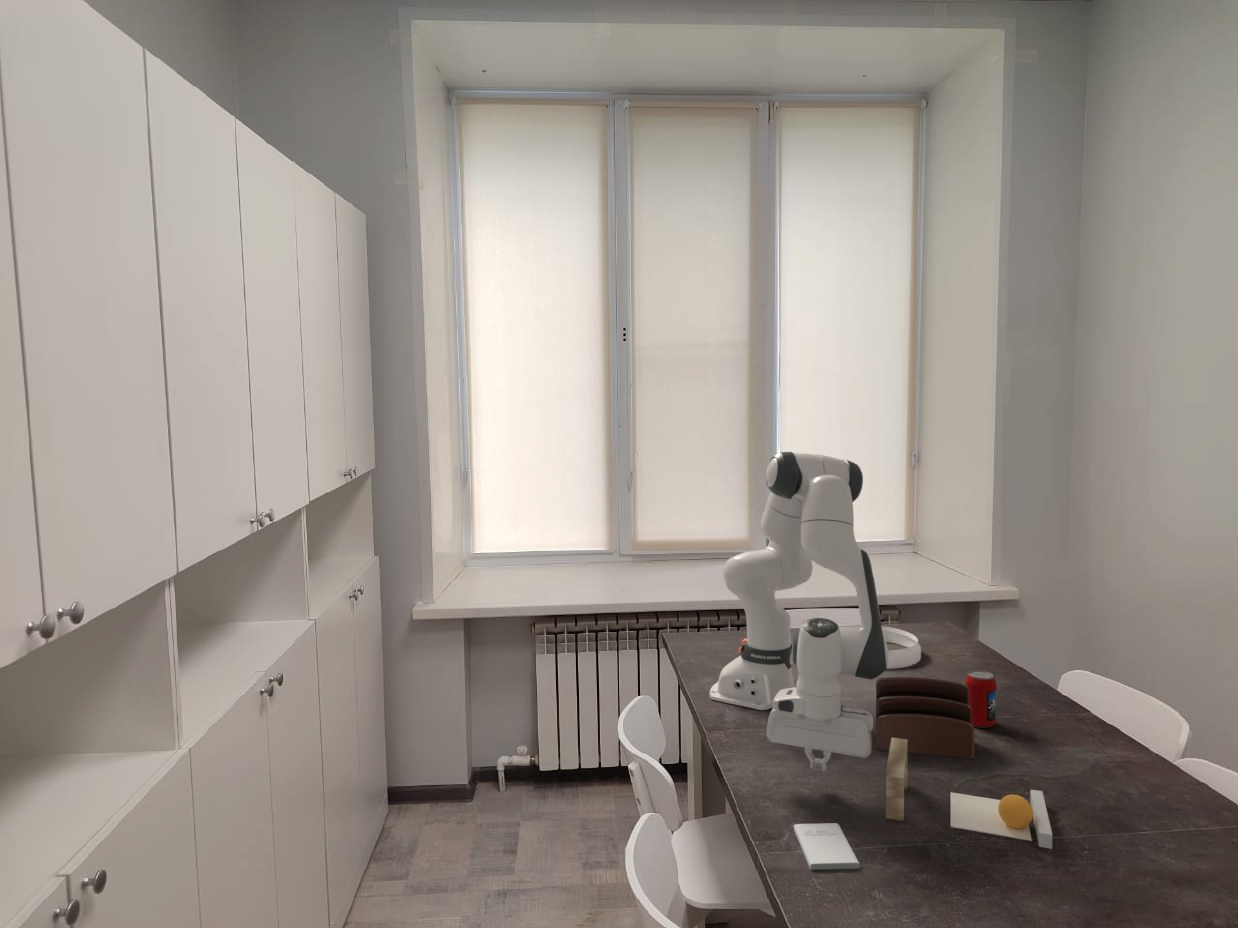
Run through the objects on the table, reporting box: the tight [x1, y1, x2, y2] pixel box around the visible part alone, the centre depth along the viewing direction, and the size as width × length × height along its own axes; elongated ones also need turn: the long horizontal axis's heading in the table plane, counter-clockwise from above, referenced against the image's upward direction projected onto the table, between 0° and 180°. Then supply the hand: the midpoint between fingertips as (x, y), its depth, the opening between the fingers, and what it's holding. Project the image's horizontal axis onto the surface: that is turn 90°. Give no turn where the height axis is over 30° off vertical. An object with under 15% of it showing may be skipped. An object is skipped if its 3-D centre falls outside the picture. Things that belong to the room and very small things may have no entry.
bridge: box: [885, 738, 908, 822], centre depth 152 cm, size 3×15×9 cm, turn 157°
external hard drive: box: [793, 822, 860, 871], centre depth 137 cm, size 2×8×12 cm
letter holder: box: [875, 676, 975, 760], centre depth 175 cm, size 10×20×14 cm, turn 73°
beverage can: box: [964, 669, 998, 729], centre depth 186 cm, size 7×7×12 cm
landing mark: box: [949, 791, 1033, 842], centre depth 146 cm, size 13×13×1 cm
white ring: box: [844, 624, 922, 670], centre depth 238 cm, size 27×27×6 cm
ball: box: [998, 794, 1034, 828], centre depth 142 cm, size 6×6×6 cm
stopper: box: [1029, 789, 1053, 850], centre depth 142 cm, size 2×16×2 cm, turn 157°
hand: (818, 768), depth 158 cm, fingers closed
